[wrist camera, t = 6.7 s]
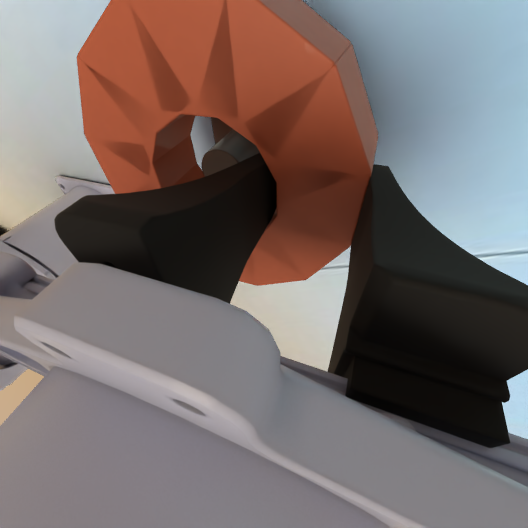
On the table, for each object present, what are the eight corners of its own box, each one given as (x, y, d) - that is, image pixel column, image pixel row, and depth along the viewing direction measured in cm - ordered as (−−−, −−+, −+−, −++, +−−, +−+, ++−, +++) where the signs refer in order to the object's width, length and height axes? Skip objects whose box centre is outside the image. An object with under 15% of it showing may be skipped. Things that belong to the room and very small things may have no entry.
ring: (342, 264, 15) (333, 306, 13) (174, 226, 18) (147, 256, 16) (425, -34, 7) (433, -37, 5) (86, -15, 10) (7, -12, 8)
